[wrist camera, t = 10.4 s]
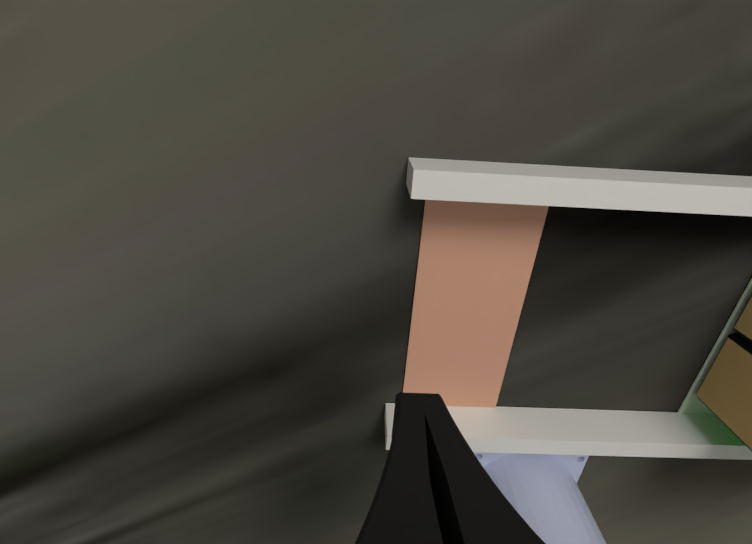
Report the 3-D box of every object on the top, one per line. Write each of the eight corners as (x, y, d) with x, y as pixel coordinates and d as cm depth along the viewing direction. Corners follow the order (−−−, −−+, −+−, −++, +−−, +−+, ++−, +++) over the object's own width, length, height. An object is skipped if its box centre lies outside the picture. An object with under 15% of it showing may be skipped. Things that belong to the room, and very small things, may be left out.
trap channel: (844, 430, 27) (887, 463, 24) (384, 416, 25) (385, 449, 23) (1045, 192, 19) (1134, 209, 17) (408, 157, 18) (413, 169, 16)
